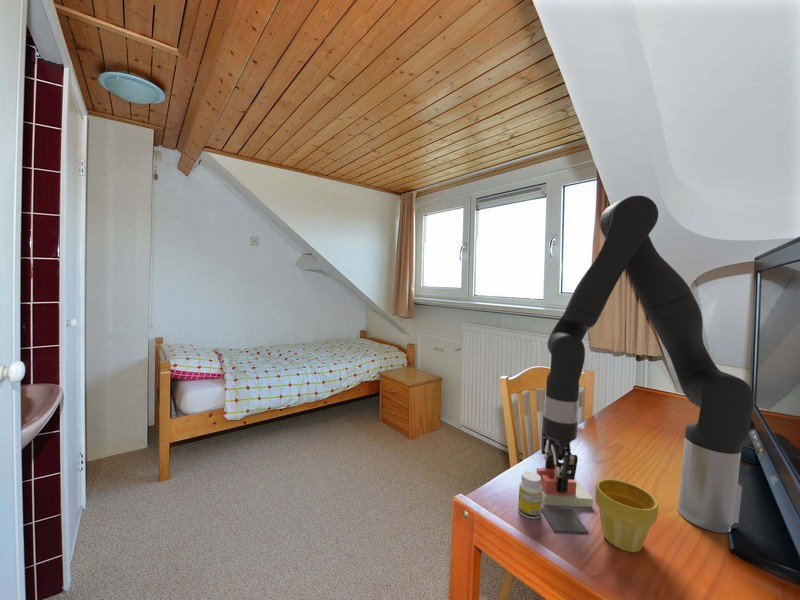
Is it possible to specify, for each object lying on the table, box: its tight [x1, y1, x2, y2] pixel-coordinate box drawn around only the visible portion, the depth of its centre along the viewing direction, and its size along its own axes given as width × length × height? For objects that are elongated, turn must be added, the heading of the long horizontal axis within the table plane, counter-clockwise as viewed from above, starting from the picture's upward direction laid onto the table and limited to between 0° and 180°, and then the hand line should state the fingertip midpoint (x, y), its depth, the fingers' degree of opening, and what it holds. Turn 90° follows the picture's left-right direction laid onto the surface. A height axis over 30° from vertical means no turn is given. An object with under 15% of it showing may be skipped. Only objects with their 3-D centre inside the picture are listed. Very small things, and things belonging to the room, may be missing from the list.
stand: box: [541, 466, 594, 508], centre depth 84 cm, size 11×8×7 cm
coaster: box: [541, 507, 589, 534], centre depth 75 cm, size 7×7×1 cm
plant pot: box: [595, 478, 659, 553], centre depth 70 cm, size 10×10×10 cm
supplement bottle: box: [517, 470, 543, 520], centre depth 77 cm, size 5×5×8 cm
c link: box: [536, 467, 577, 495], centre depth 84 cm, size 7×6×3 cm
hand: (555, 483), depth 84 cm, fingers open, 6 cm apart
